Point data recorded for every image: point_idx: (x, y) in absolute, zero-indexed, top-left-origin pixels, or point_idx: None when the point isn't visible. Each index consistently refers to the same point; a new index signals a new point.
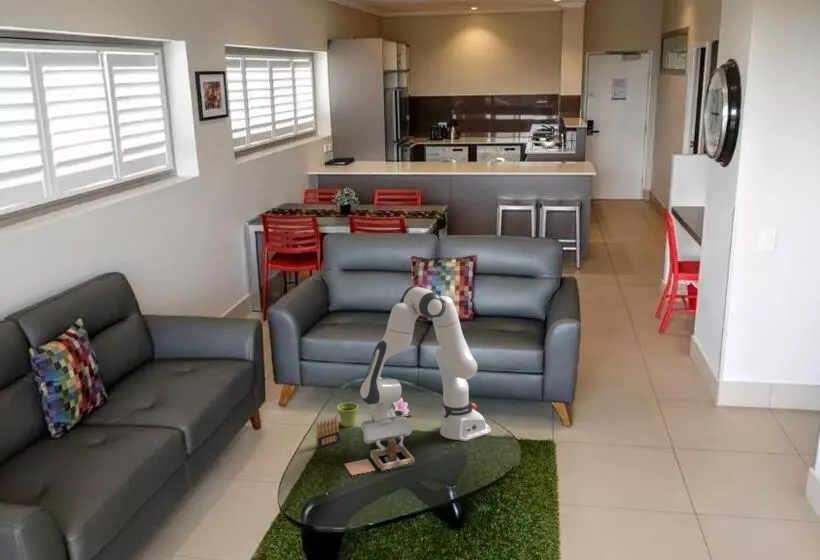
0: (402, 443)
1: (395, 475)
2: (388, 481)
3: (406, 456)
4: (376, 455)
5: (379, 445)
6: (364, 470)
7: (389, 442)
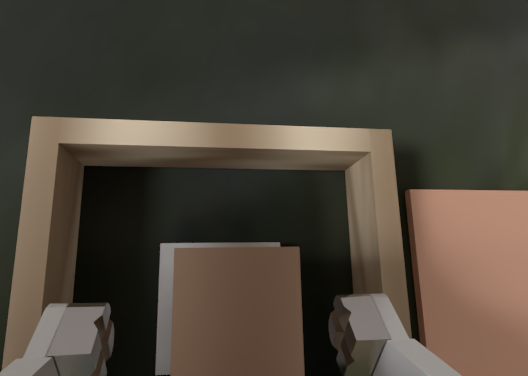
0: (34, 334)
1: (281, 66)
2: (355, 16)
3: (63, 295)
4: None
5: (434, 357)
6: (494, 217)
7: (295, 303)
